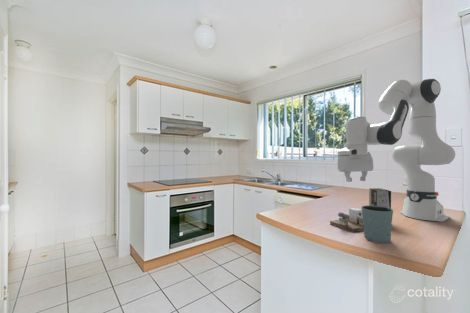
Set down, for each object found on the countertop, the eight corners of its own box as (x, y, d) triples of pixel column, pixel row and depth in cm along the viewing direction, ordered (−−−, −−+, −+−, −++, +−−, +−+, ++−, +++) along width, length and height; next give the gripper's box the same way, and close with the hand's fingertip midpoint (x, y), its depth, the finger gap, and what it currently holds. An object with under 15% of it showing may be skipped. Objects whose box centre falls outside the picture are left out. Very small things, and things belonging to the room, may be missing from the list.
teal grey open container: (399, 242, 80) (399, 210, 80) (378, 245, 77) (378, 212, 77) (374, 233, 90) (375, 204, 90) (355, 235, 87) (355, 205, 87)
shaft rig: (358, 219, 110) (358, 205, 110) (382, 226, 99) (382, 211, 99) (328, 224, 101) (328, 209, 101) (351, 232, 90) (351, 215, 90)
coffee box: (391, 225, 101) (391, 190, 101) (376, 224, 102) (376, 190, 102) (382, 219, 110) (382, 188, 110) (368, 219, 111) (368, 187, 111)
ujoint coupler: (354, 220, 103) (354, 207, 103) (363, 223, 99) (363, 210, 99) (348, 221, 101) (348, 208, 101) (357, 224, 97) (357, 210, 97)
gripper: (364, 151, 107) (364, 179, 107) (335, 151, 99) (334, 181, 99) (377, 151, 102) (377, 181, 102) (347, 151, 93) (347, 183, 93)
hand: (356, 181), depth 100 cm, fingers open, 8 cm apart
